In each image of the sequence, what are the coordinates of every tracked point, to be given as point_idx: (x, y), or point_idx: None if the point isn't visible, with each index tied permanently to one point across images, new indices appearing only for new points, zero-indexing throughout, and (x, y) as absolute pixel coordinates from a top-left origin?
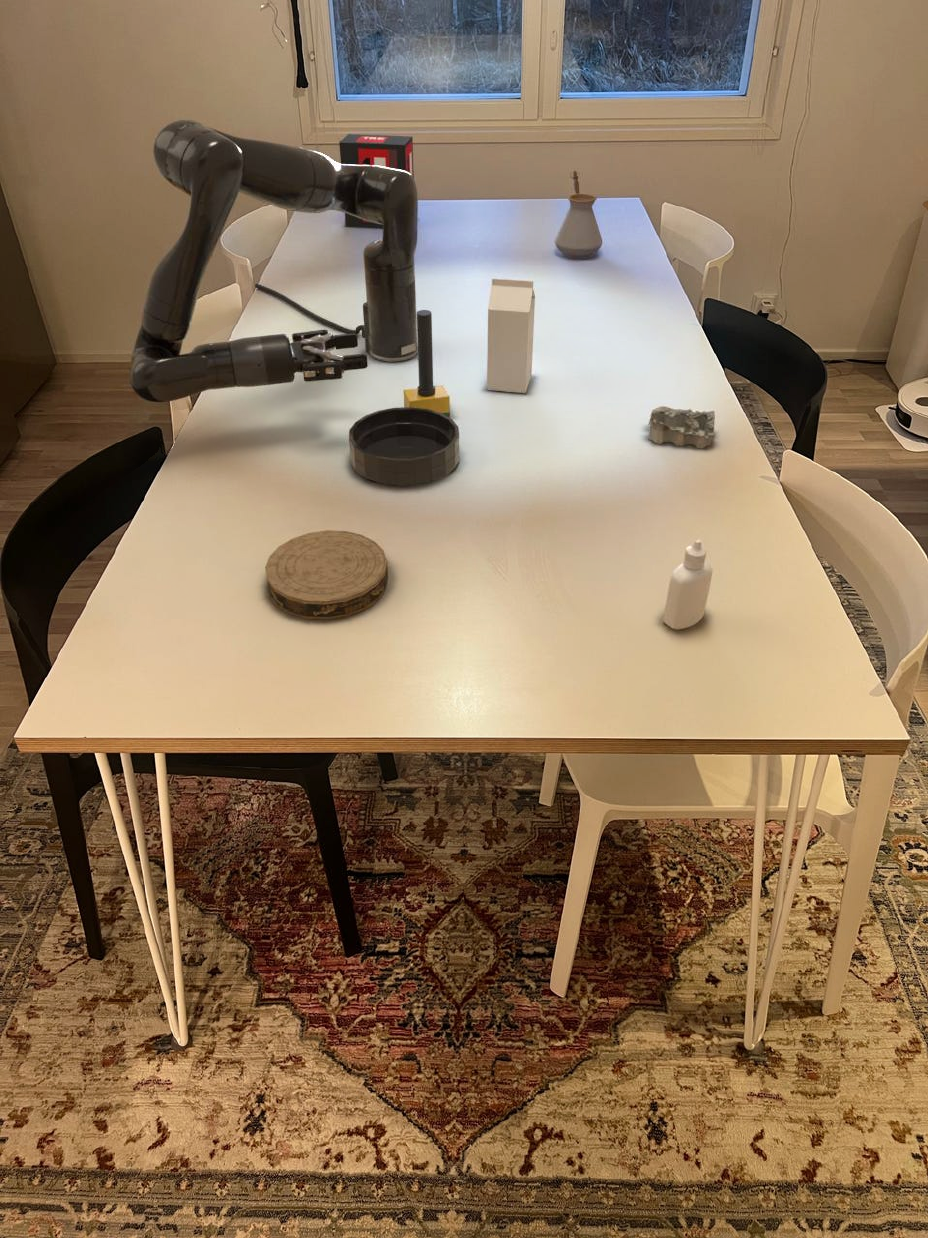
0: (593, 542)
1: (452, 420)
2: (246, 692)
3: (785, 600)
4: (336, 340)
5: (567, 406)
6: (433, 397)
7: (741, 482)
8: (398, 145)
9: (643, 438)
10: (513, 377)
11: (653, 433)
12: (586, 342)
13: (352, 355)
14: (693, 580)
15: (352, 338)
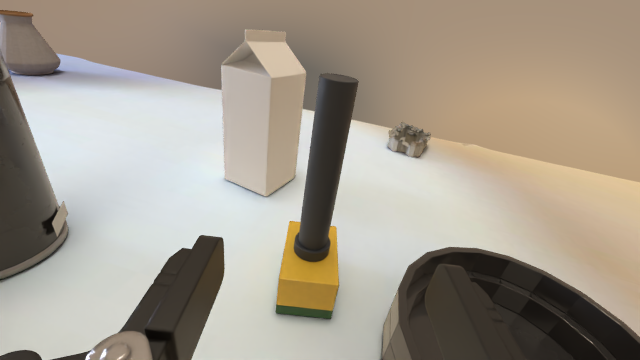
0: (625, 241)
1: (455, 248)
2: None
3: (628, 188)
4: (178, 340)
5: None
6: (334, 245)
7: (473, 151)
8: None
9: (409, 158)
10: (288, 165)
11: (416, 150)
12: (213, 121)
13: (477, 314)
14: None
15: (215, 262)
